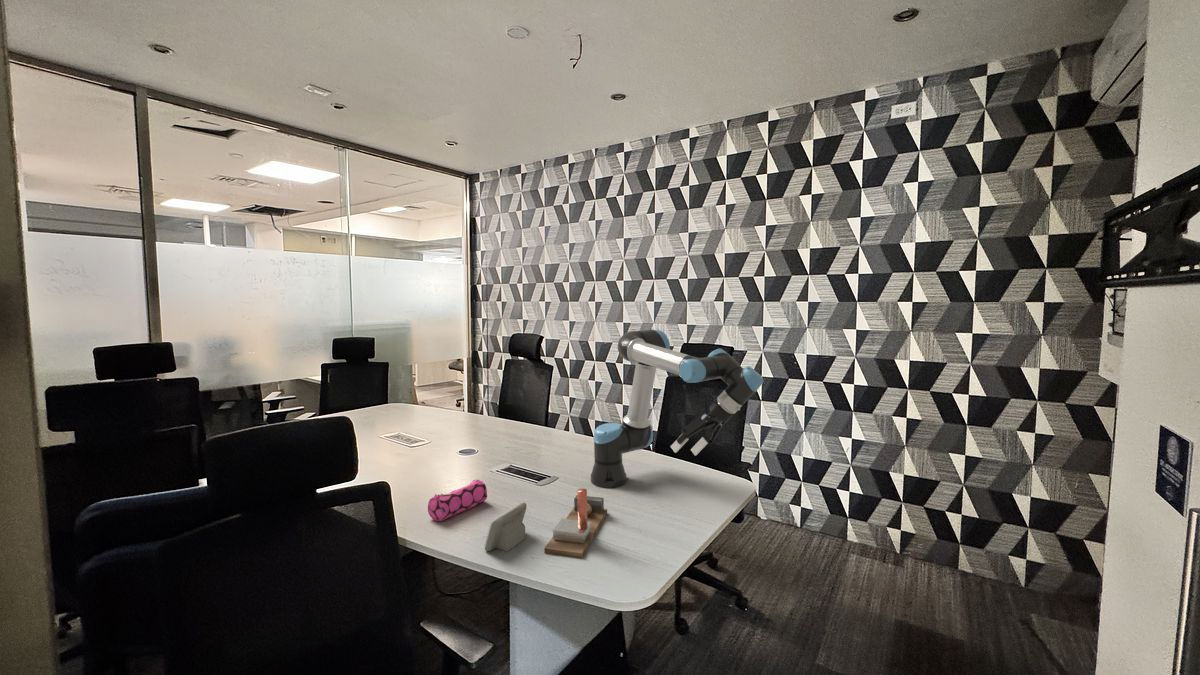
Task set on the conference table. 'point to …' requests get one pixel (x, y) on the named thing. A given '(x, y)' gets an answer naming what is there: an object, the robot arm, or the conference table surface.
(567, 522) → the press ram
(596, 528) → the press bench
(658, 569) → the conference table surface
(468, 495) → the pencil case
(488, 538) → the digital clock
